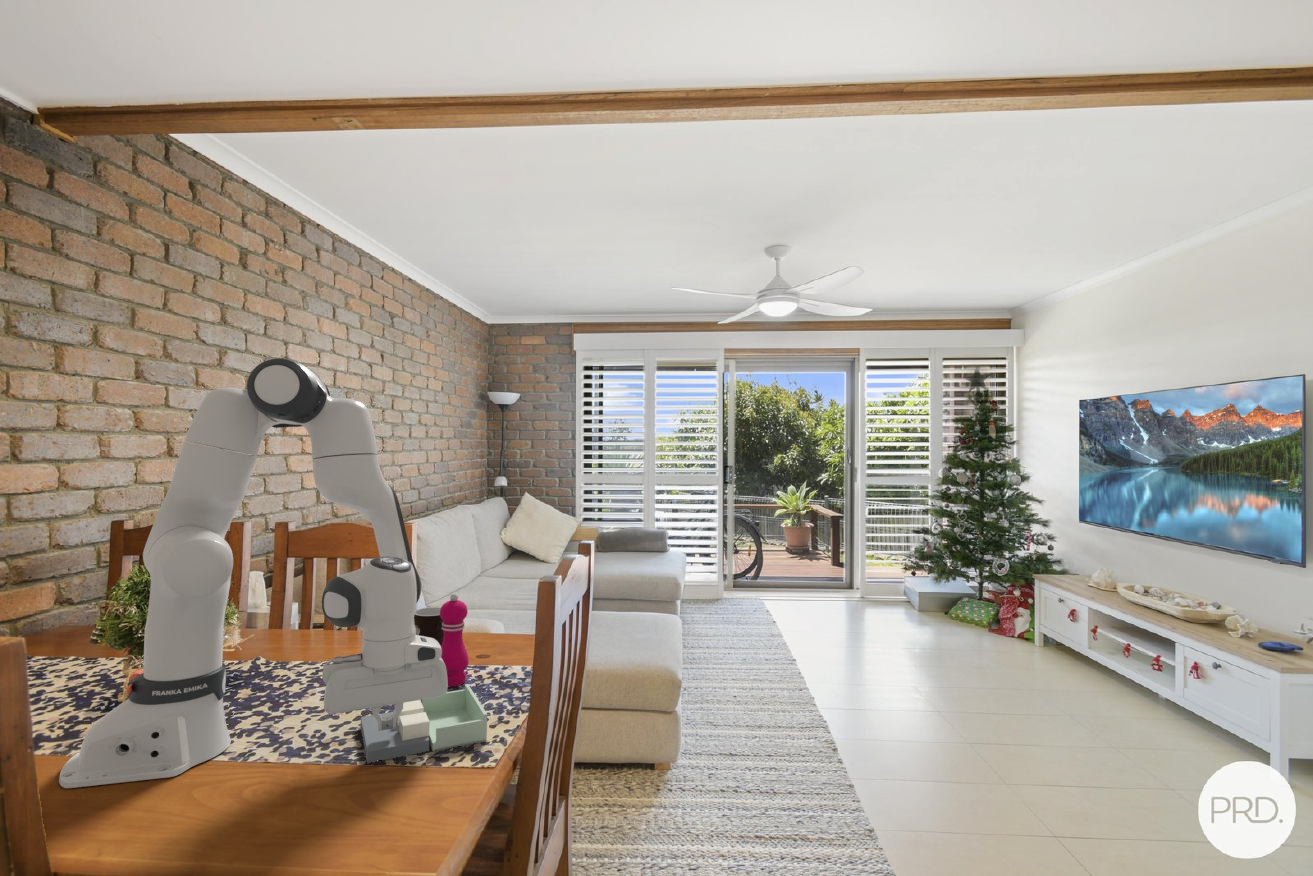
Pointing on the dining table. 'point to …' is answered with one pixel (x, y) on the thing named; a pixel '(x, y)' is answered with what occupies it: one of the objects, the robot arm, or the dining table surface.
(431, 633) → the coffee mug
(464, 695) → the bin
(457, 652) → the pepper mill
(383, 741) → the slate plate
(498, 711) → the dining table surface
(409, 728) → the tile front
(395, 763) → the dining table surface
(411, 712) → the tile back
